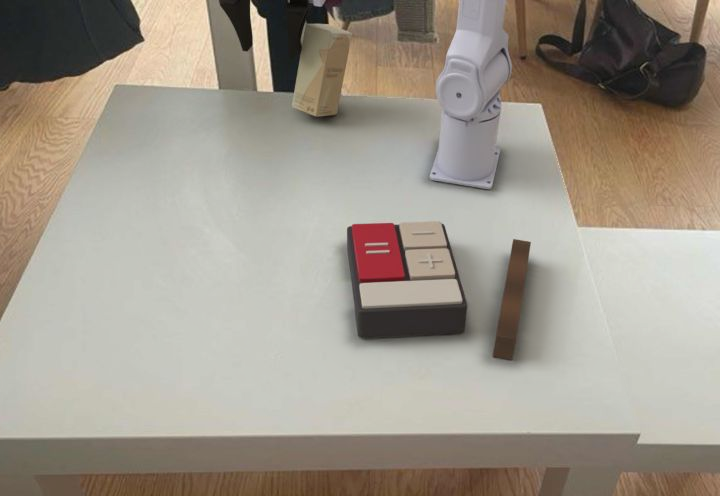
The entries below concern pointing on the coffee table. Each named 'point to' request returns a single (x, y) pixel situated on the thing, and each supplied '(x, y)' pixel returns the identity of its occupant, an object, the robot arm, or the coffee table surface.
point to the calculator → (404, 280)
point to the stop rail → (512, 300)
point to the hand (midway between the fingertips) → (270, 51)
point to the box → (321, 69)
